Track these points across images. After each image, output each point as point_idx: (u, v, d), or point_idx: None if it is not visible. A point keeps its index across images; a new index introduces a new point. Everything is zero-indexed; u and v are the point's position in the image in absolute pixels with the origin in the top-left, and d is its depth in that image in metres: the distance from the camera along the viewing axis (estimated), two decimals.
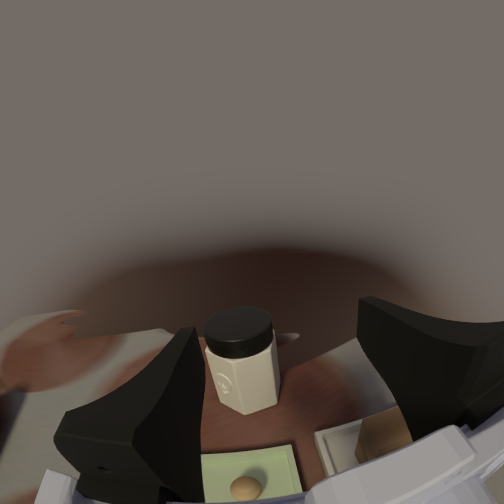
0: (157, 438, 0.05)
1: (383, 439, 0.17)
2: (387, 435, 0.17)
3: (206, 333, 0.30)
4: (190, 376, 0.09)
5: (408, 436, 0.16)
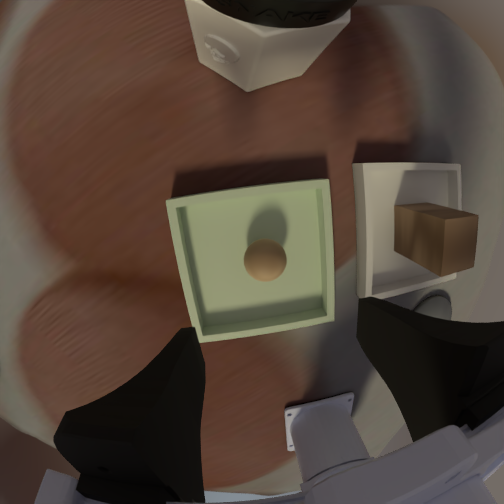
0: (157, 438, 0.05)
1: (449, 263, 0.15)
2: (454, 258, 0.15)
3: None
4: (190, 376, 0.09)
5: (466, 268, 0.16)
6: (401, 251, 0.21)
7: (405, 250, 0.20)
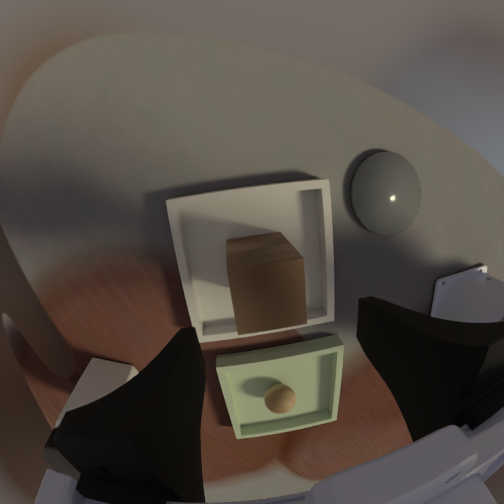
0: (157, 438, 0.05)
1: (291, 313, 0.15)
2: (286, 307, 0.15)
3: None
4: (190, 376, 0.09)
5: (303, 276, 0.14)
6: None
7: None
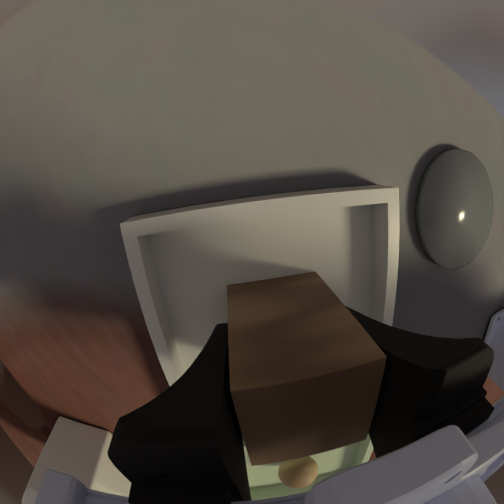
0: (225, 436, 0.05)
1: (345, 434, 0.07)
2: (339, 428, 0.07)
3: None
4: None
5: (378, 384, 0.06)
6: None
7: None
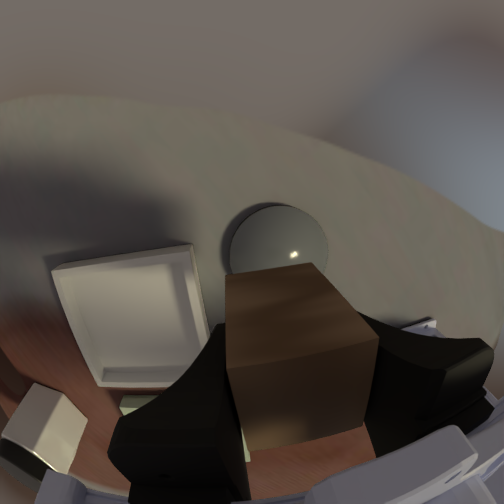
0: (225, 436, 0.05)
1: (341, 419, 0.07)
2: (334, 412, 0.07)
3: None
4: None
5: (372, 366, 0.07)
6: None
7: None
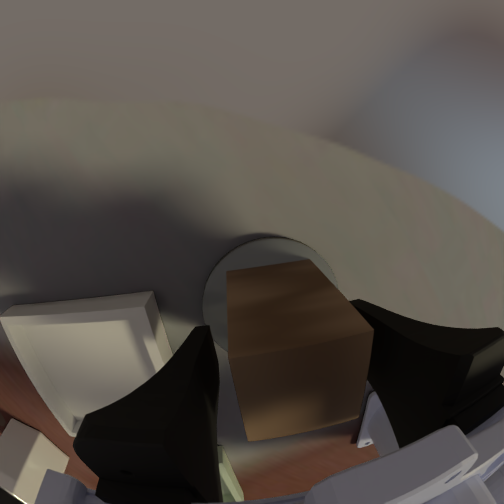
0: (183, 438, 0.05)
1: (338, 410, 0.08)
2: (332, 403, 0.08)
3: None
4: (207, 375, 0.09)
5: (367, 358, 0.07)
6: None
7: None
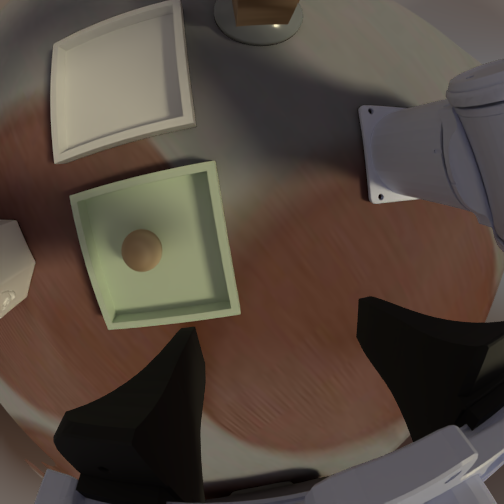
0: (157, 438, 0.05)
1: None
2: None
3: None
4: (190, 376, 0.09)
5: None
6: (287, 17, 0.14)
7: (285, 13, 0.14)
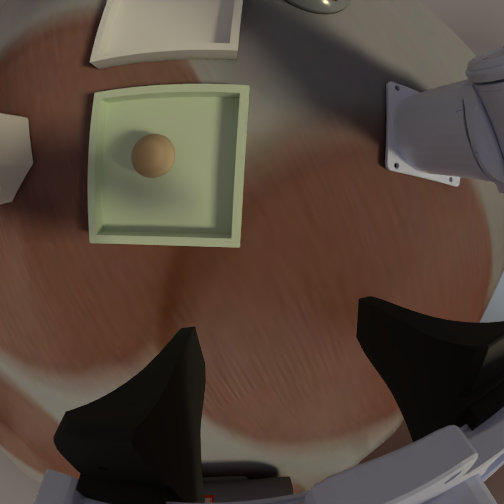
0: (157, 438, 0.05)
1: None
2: None
3: None
4: (190, 376, 0.09)
5: None
6: None
7: None
